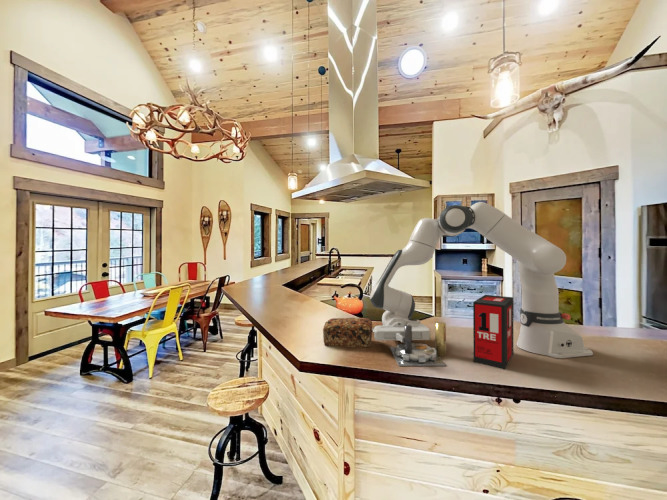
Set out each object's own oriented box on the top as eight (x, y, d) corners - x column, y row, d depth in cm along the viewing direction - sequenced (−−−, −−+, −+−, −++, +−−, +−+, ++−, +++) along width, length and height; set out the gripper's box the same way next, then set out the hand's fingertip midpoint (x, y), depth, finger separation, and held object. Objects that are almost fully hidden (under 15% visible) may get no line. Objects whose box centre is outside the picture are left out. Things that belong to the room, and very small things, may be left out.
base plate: (430, 348, 105) (430, 347, 105) (445, 365, 90) (445, 364, 90) (390, 348, 105) (390, 347, 105) (398, 366, 90) (398, 364, 90)
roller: (443, 351, 102) (443, 321, 102) (447, 355, 98) (447, 324, 98) (433, 352, 102) (433, 321, 102) (437, 355, 98) (437, 324, 98)
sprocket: (391, 347, 104) (391, 318, 104) (428, 346, 105) (427, 318, 105) (401, 362, 91) (401, 329, 91) (443, 361, 91) (442, 328, 91)
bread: (373, 340, 116) (372, 316, 115) (370, 349, 105) (369, 323, 105) (329, 337, 120) (328, 314, 120) (322, 346, 110) (321, 320, 109)
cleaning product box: (504, 369, 87) (504, 305, 87) (473, 362, 93) (473, 301, 93) (513, 353, 100) (513, 297, 99) (485, 347, 105) (485, 294, 105)
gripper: (370, 320, 110) (375, 331, 96) (423, 319, 110) (435, 330, 96) (371, 336, 110) (375, 349, 96) (423, 335, 110) (435, 349, 96)
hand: (406, 340), depth 96 cm, fingers closed
